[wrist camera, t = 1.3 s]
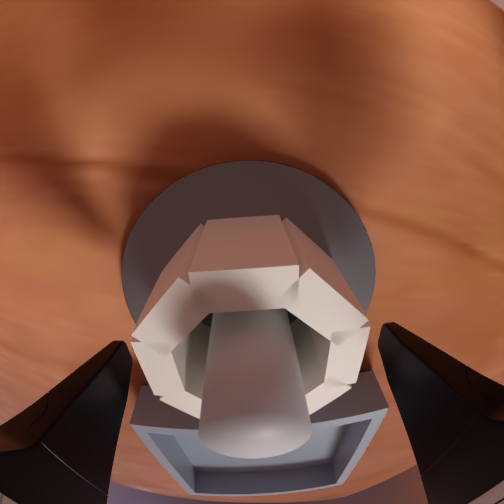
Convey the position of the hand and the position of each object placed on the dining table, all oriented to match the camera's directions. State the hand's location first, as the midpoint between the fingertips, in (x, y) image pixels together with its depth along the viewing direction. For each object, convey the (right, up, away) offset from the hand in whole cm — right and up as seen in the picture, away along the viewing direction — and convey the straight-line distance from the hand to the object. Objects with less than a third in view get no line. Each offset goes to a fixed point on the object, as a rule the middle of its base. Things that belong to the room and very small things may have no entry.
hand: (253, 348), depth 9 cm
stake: (0, +1, +3) cm, 4 cm away
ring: (0, +1, +3) cm, 3 cm away
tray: (+1, -11, +9) cm, 14 cm away
